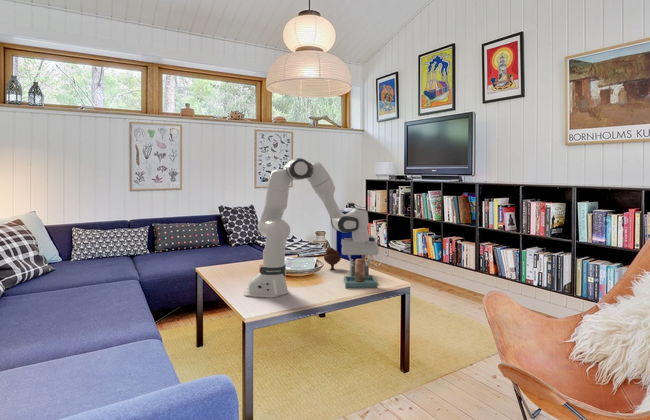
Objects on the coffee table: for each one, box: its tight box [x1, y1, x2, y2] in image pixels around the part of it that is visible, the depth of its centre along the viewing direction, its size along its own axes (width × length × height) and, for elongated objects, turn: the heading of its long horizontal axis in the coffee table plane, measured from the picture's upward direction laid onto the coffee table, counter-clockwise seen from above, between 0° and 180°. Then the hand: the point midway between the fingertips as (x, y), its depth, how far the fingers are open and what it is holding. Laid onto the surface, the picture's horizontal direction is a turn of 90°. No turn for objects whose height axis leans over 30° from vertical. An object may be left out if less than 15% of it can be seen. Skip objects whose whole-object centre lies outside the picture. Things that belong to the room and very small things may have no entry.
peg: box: [355, 258, 366, 282], centre depth 217 cm, size 5×5×13 cm
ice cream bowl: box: [323, 247, 342, 271], centre depth 248 cm, size 11×11×15 cm
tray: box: [343, 275, 378, 289], centre depth 218 cm, size 17×14×3 cm
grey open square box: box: [349, 261, 370, 276], centre depth 232 cm, size 10×10×8 cm
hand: (359, 262), depth 217 cm, fingers open, 8 cm apart
